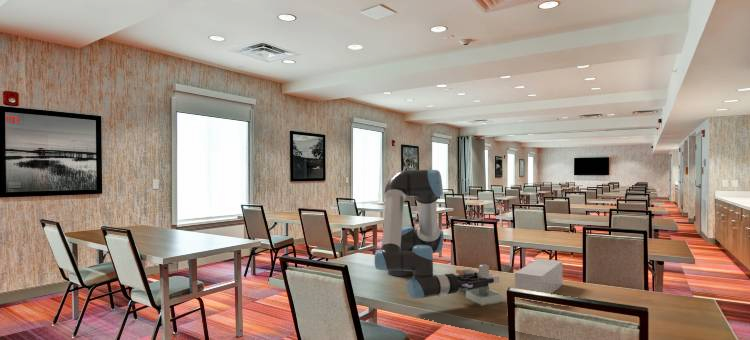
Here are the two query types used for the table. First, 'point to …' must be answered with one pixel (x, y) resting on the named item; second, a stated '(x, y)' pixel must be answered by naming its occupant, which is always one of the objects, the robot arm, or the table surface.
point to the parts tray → (491, 299)
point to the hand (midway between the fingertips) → (494, 277)
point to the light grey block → (540, 276)
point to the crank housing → (469, 271)
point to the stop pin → (482, 274)
